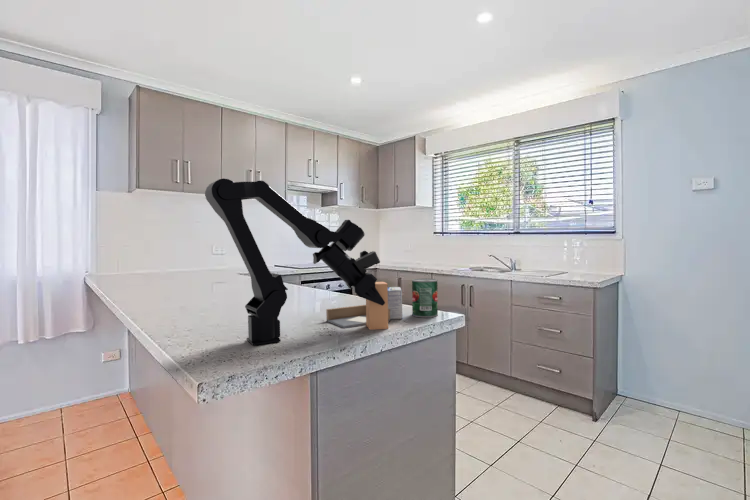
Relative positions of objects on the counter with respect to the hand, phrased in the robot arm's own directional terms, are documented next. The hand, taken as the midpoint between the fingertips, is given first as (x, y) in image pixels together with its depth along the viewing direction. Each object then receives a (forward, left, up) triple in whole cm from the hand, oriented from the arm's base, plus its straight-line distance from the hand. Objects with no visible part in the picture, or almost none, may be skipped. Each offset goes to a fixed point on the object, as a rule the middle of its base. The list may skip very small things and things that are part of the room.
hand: (381, 302), depth 109 cm
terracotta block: (-1, 0, -7) cm, 7 cm away
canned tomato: (+20, +6, -7) cm, 22 cm away
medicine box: (+11, +9, -7) cm, 16 cm away
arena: (-2, +10, -7) cm, 12 cm away
